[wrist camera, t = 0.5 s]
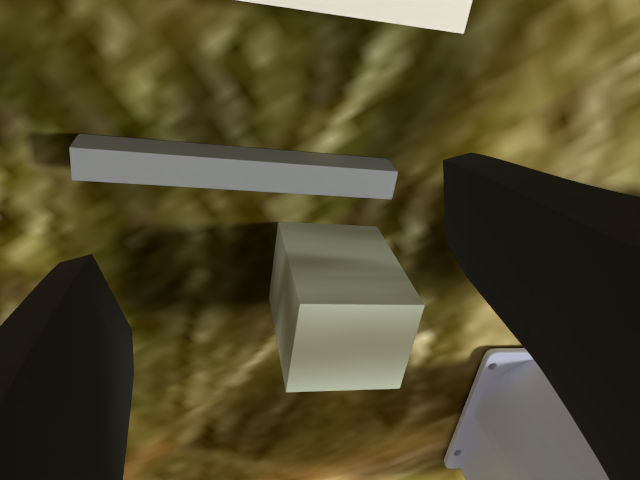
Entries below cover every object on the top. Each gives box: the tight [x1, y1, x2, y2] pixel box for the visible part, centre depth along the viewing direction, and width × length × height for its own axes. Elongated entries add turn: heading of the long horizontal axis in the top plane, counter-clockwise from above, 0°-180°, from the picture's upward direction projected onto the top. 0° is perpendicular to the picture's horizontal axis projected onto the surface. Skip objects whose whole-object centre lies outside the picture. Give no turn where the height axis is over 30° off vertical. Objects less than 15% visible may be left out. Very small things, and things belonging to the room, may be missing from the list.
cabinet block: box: [269, 222, 425, 392], centre depth 21 cm, size 4×4×6 cm
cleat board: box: [69, 0, 472, 199], centre depth 17 cm, size 8×12×4 cm, turn 81°
